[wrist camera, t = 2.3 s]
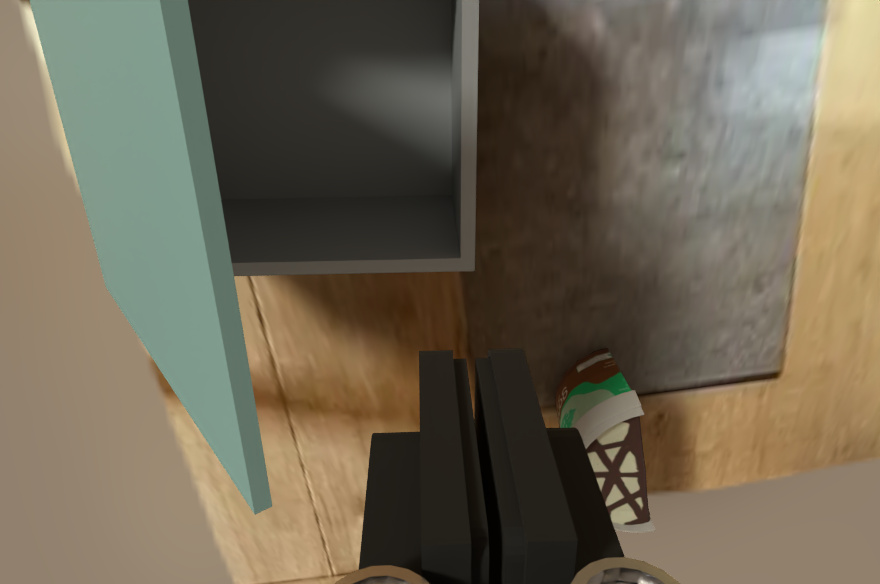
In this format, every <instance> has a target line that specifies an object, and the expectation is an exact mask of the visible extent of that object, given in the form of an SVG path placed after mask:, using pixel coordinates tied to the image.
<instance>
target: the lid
mask: <svg viewBox="0 0 880 584" xmlns="http://www.w3.org/2000/svg"><path fill="white" fill-rule="evenodd" d="M30 4H31V8H32V11H33V15H34V19H35V23H36V26H37V30H38V34H39V38H40V41H41V45H42V49H43V53H44V56H45V60H46V64H47V68H48V71H49V75H50V79H51V83H52V86H53V90H54V94H55V98H56V101H57V105H58V109H59V113H60V116H61V120H62V124H63V128H64V131H65V135H66V139H67V143H68V146H69V150H70V154H71V158H72V161H73V165H74V169H75V173H76V176H77V180H78V184H79V188H80V191H81V195H82V199H83V203H84V206H85V210H86V214H87V218H88V221H89V225H90V229H91V233H92V236H93V240H94V243H95V248H96V251H97V255H98V258H99V263H100V266H101V270H102V273H103V278H104V281H105V285H106V288H107V289H108V291H109V292H110V294H111V295H112V297H113V298H114V300H115V302H116V303H117V305H118V306H119V308H120V309H121V311H122V312H123V314H124V315H125V317H126V318H127V320H128V321H129V323H130V324H131V326H132V328H133V329H134V330H135V332H136V334H137V335H138V337H139V338H140V340H141V341H142V343H143V344H144V346H145V347H146V349H147V350H148V352H149V354H150V355H151V357H152V358H153V360H154V361H155V363H156V364H157V366H158V367H159V369H160V370H161V372H162V373H163V375H164V376H165V378H166V380H167V381H168V383H169V384H170V386H171V387H172V389H173V390H174V392H175V393H176V395H177V396H178V398H179V399H180V401H181V402H182V404H183V406H184V407H185V409H186V410H187V412H188V413H189V415H190V416H191V418H192V419H193V421H194V422H195V424H196V425H197V427H198V428H199V430H200V432H201V433H202V435H203V436H204V438H205V439H206V441H207V442H208V444H209V445H210V447H211V448H212V450H213V451H214V453H215V454H216V456H217V457H218V459H219V461H220V462H221V464H222V465H223V467H224V468H225V470H226V471H227V473H228V474H229V476H230V477H231V479H232V480H233V482H234V483H235V485H236V487H237V488H238V490H239V491H240V493H241V494H242V496H243V497H244V499H245V500H246V502H247V503H248V505H249V506H250V508H251V509H252V511H253V513H254V514H257V513H259V512H261V511H263V510H265V509H268V508H270V507H272V501H271V495H270V489H269V483H268V477H267V471H266V465H265V459H264V453H263V447H262V441H261V435H260V429H259V423H258V417H257V412H256V406H255V400H254V394H253V388H252V382H251V376H250V370H249V364H248V358H247V352H246V346H245V340H244V334H243V328H242V322H241V316H240V310H239V304H238V298H237V292H236V286H235V280H234V274H233V268H232V262H231V256H230V250H229V244H228V238H227V232H226V226H225V220H224V214H223V208H222V202H221V196H220V190H219V184H218V178H217V172H216V167H215V161H214V155H213V149H212V143H211V137H210V131H209V125H208V119H207V113H206V107H205V101H204V95H203V89H202V83H201V77H200V71H199V65H198V59H197V53H196V47H195V41H194V35H193V29H192V23H191V17H190V11H189V5H188V0H30Z"/></svg>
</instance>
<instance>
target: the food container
mask: <svg viewBox="0 0 880 584" xmlns="http://www.w3.org/2000/svg"><path fill="white" fill-rule="evenodd" d="M555 404H556V410H557V415H558V420H559V425H560V428H571V427H575V428H577V429H578V431H579V433H580V435H581V437H582V440H583V443H584V445H585V448H586V451H587V454H588V457H589V459H590V462H591V465H592V468H593V470H594V473H595V476H596V479H597V482H598V484H599V487H600V490H601V493H602V496H603V498H604V501H605V504H606V507H607V509H608V512H609V515H610V518H611V521H612V523H613V526H614V529H615V530H619V531H624V532H652V531H655V528H654V526H653V523H652V521H651V518H650V513H649V509H648V499H647V487H646V469H645V462H644V455H643V446H642V437H641V427H640V418H639V416H641V415H644V412H643V410H642V408H641V404H640V401H639V399H638V396H637V394H636V392H635V390H633V391H632V390H631V389H630V387H629V385H628V383H627V382H626V380H625V378H624V376H623V375H622V373H621V371H620V369H619V368H618V366H617V364H616V362H615V360H614V359H613V357H612V355H611V353H610V352H609V350H608V348H606V349H603V350H599V351H595V352H593V353H591V354H589V355H587V356H585V357H583V358H582V359H580V360H578V361H577V362H576V363H574V364H573V365H572V366H571V367H570V368H569V369H568V370H567V371H566V372H565V373H564V375H563V377H562V379H561V380H560V382H559V384H558V386H557V390H556V395H555Z"/></svg>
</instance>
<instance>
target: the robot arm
mask: <svg viewBox="0 0 880 584" xmlns="http://www.w3.org/2000/svg"><path fill="white" fill-rule="evenodd" d="M419 376H420V432H398V433H373V434H372V439H371V448H370V458H369V469H368V479H367V490H366V500H365V511H364V521H363V531H362V542H361V552H360V563H359V570H357V571H354V572H352V573H350V574H349V575H347V576H345V577H344V578H342V579H340V580H339V581H337V582H336V583H335V584H680V583H679V582H678V581H677V580H675V579H674V578H673V577H671V576H670V575H669V574H667V573H666V572H665V571H663V570H662V569H659V568H657V567H655V566H653V565H651V564H648V563H646V562H644V561H639V560H635V559H630V558H625V557H624V554H623V551H622V549H621V546H620V543H619V540H618V537H617V535H616V532H615V529H614V526H613V523H612V521H611V518H610V515H609V512H608V509H607V507H606V504H605V501H604V498H603V496H602V493H601V490H600V487H599V484H598V482H597V479H596V476H595V473H594V470H593V468H592V465H591V462H590V459H589V457H588V454H587V451H586V448H585V445H584V443H583V440H582V437H581V435H580V433H579V431H578V429H577V428H575V427H571V428H546V427H545V424H544V420H543V417H542V413H541V410H540V406H539V403H538V399H537V396H536V392H535V389H534V385H533V382H532V378H531V375H530V371H529V368H528V364H527V361H526V357H525V354H524V351H523V349H489V351H488V358H476V363H475V419H474V417H473V409H472V401H471V394H470V386H469V378H468V371H467V363H466V359H453V351H452V350H444V351H419Z"/></svg>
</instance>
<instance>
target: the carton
mask: <svg viewBox="0 0 880 584" xmlns="http://www.w3.org/2000/svg"><path fill="white" fill-rule="evenodd" d="M188 5H189V11H190V17H191V23H192V29H193V35H194V41H195V47H196V53H197V59H198V65H199V71H200V77H201V83H202V89H203V95H204V101H205V107H206V113H207V119H208V125H209V131H210V137H211V143H212V149H213V155H214V161H215V167H216V172H217V178H218V184H219V190H220V196H221V202H222V208H223V214H224V220H225V226H226V232H227V238H228V244H229V250H230V256H231V262H232V268H233V274H234V276H262V275H310V274H357V273H405V272H453V271H475V225H476V161H477V98H478V35H479V0H188Z"/></svg>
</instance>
